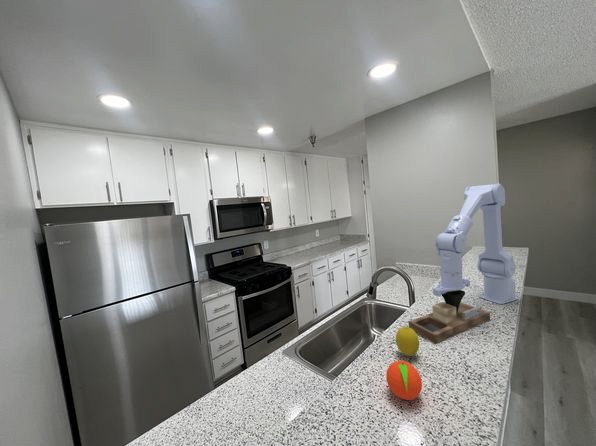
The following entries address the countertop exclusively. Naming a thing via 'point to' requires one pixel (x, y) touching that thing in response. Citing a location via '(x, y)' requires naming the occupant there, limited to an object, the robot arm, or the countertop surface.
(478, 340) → the countertop surface
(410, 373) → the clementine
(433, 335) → the board
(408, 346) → the lemon
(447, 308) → the maple block
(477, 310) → the channel walls
